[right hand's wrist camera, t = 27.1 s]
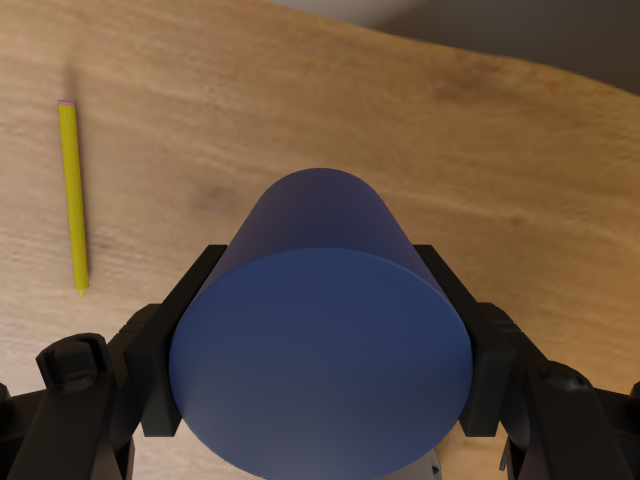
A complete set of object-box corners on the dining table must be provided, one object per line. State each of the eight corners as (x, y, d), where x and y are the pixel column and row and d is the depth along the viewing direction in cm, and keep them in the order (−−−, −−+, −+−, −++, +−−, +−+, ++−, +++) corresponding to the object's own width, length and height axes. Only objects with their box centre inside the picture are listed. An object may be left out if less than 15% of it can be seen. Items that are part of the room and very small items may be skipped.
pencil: (64, 100, 24) (53, 99, 23) (78, 102, 24) (68, 102, 23) (81, 297, 30) (73, 303, 29) (92, 299, 30) (85, 305, 29)
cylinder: (252, 157, 16) (161, 226, 7) (407, 179, 17) (520, 271, 7) (243, 294, 19) (170, 475, 10) (376, 310, 19) (430, 499, 10)
